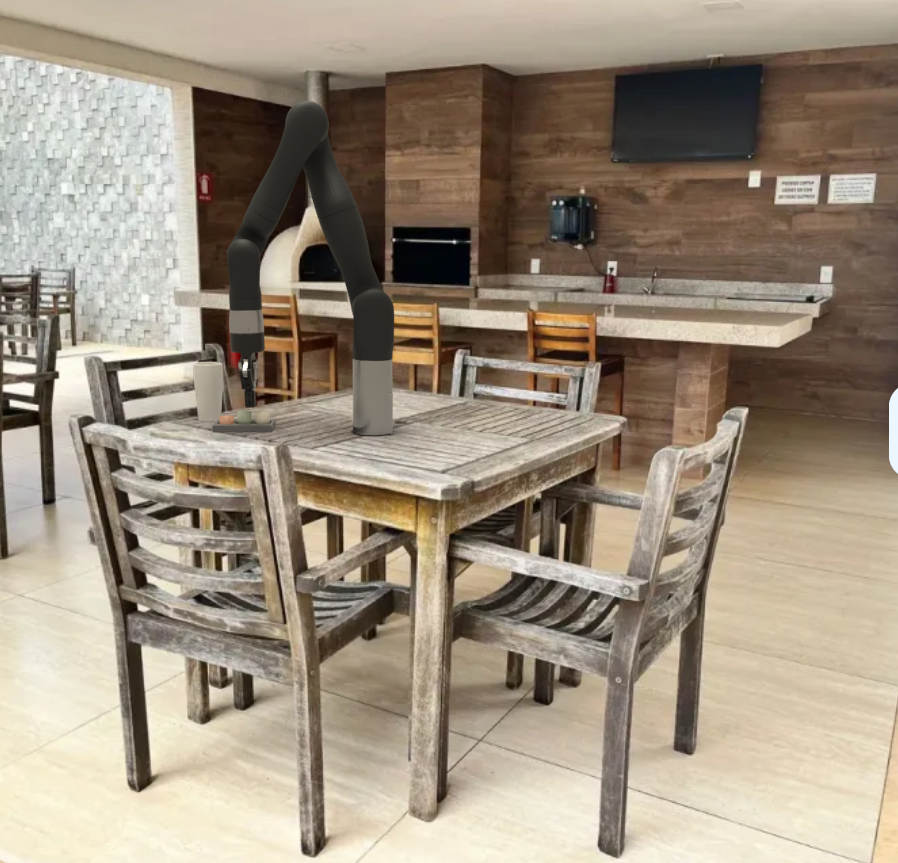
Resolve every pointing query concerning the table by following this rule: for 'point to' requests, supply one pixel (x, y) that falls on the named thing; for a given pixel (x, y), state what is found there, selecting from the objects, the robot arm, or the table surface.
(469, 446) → the table surface
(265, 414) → the button cream
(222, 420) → the button terracotta
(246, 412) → the button sage
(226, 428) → the dark grey tray
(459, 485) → the table surface
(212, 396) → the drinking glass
